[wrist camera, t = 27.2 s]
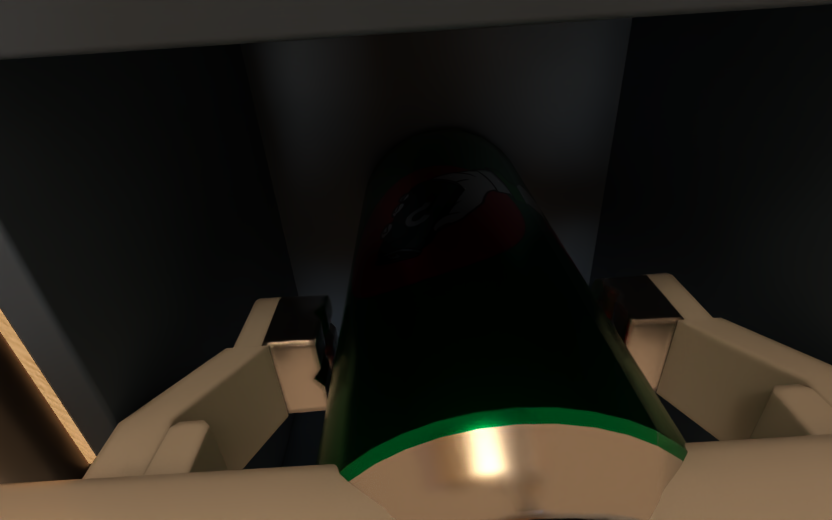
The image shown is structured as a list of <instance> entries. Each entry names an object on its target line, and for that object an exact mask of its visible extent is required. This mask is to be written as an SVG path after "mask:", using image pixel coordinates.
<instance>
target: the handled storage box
mask: <svg viewBox="0 0 832 520" xmlns="http://www.w3.org/2000/svg"><path fill="white" fill-rule="evenodd" d="M438 129H455V130H461V131H467V132H470V133H473V134H476V135H479V136H481V137H483V138H485V139H487V140H488V141H490V142H492V143H493V144H494V145H496V146H497V147H498V148H499V149H501V150H502V151H503V153H504V154H505V155H506V156H507V157H508V158H509V159H510V161H511V163H512V164H513V166H514V167H515V169H516V171H517V172H518V174H519V175H520V177H521V179H522V180H523V182H524V183H525V185H526V187H527V188H528V190H529V191H530V193H531V195H532V196H533V198H534V199H535V201H536V203H537V204H538V206H539V207H540V209H541V211H542V212H543V214H544V215H545V217H546V219H547V220H548V222H549V223H550V225H551V227H552V228H553V230H554V231H555V233H556V235H557V236H558V238H559V239H560V241H561V243H562V244H563V246H564V247H565V249H566V251H567V252H568V254H569V255H570V257H571V259H572V260H573V262H574V263H575V265H576V267H577V268H578V270H579V271H580V273H581V275H582V276H583V278H584V279H585V281H586V283H587V284H588V286H589V288H590V289H592V285H593V283H594V281H595V279H602V278H615V277H628V276H640V275H646V274H657V273H669V274H671V275H673V276H674V277H675V278H676V279H677V280H678V281H679V282H680V284H681V285H682V286H683V287H684V288H685V289H686V290H687V291H688V292H689V293H690V294H691V295H692V296H693V297H694V298H695V299H696V300H697V301H698V303H699V304H700V305H701V306H702V307H703V308H704V309H705V310H706V311H707V312H708V313H709V314H710V315H711V316H712V317H713V318H723V319H725V320H728V321H730V322H732V323H735V324H737V325H739V326H742V327H744V328H746V329H749V330H751V331H753V332H756V333H758V334H760V335H763V336H765V337H767V338H770V339H772V340H774V341H777V342H779V343H781V344H783V345H786V346H788V347H790V348H793V349H795V350H797V351H800V352H802V353H804V354H807V355H809V356H811V357H814V358H816V359H818V360H821V361H823V362H825V363H828V364H830V365H832V0H0V309H1V310H2V312H3V314H4V315H5V317H6V318H7V320H8V321H9V323H10V324H11V326H12V327H13V329H14V330H15V332H16V333H17V335H18V337H19V338H20V340H21V341H22V343H23V344H24V346H25V347H26V349H27V350H28V352H29V353H30V355H31V357H32V358H33V360H34V361H35V363H36V364H37V366H38V367H39V369H40V370H41V372H42V373H43V375H44V377H45V378H46V380H47V381H48V383H49V384H50V386H51V387H52V389H53V390H54V392H55V393H56V395H57V397H58V398H59V400H60V401H61V403H62V404H63V406H64V407H65V409H66V410H67V412H68V413H69V415H70V417H71V418H72V420H73V421H74V423H75V424H76V426H77V427H78V429H79V430H80V432H81V433H82V435H83V437H84V438H85V440H86V441H87V443H88V444H89V446H90V447H91V449H92V450H93V452H94V453H95V455H96V456H97V455H98V454H99V452H100V451H101V449H102V448H103V446H104V445H105V443H106V441H107V440H108V438H109V437H110V435H111V434H112V432H113V431H114V429H115V428H116V426H117V425H118V423H119V422H121V421H122V420H124V419H125V418H127V417H128V416H130V415H131V414H132V413H134V412H135V411H137V410H138V409H140V408H141V407H142V406H144V405H145V404H147V403H148V402H150V401H151V400H152V399H154V398H155V397H157V396H158V395H160V394H161V393H163V392H164V391H165V390H167V389H168V388H170V387H171V386H173V385H174V384H175V383H177V382H178V381H180V380H181V379H183V378H184V377H186V376H187V375H188V374H190V373H191V372H193V371H194V370H196V369H197V368H198V367H200V366H201V365H203V364H204V363H206V362H207V361H208V360H210V359H211V358H213V357H214V356H216V355H217V354H219V353H220V352H221V351H223V350H224V349H226V348H233V347H234V345H235V343H236V341H237V339H238V337H239V334H240V332H241V330H242V328H243V326H244V324H245V322H246V320H247V318H248V315H249V313H250V311H251V309H252V307H253V305H254V303H255V301H256V300H258V299H260V298H274V297H281V298H282V297H296V296H320V295H328V296H329V298H330V300H331V305H332V309H333V313H332V318H331V323H332V324H333V325H334V326H335V327H336V330H337V336H338V339H339V333H340V328H341V322H342V317H343V311H344V305H345V300H346V294H347V289H348V283H349V278H350V272H351V267H352V261H353V255H354V250H355V244H356V239H357V233H358V228H359V222H360V217H361V211H362V206H363V200H364V194H365V190H366V186H367V183H368V180H369V178H370V176H371V174H372V172H373V170H374V168H375V167H376V165H377V164H378V162H379V161H380V160H381V158H382V157H383V156H384V155H385V154H386V153H387V152H388V151H389V150H390V149H392V148H393V147H394V146H396V145H397V144H399V143H400V142H401V141H403V140H405V139H407V138H409V137H411V136H413V135H416V134H419V133H423V132H426V131H431V130H438ZM654 392H655V393H656V395H657V396H658V398H659V400H660V401H661V403H662V404H663V406H664V408H665V409H666V411H667V412H668V414H669V416H670V417H671V419H672V420H673V422H674V424H675V425H676V427H677V428H678V430H679V432H680V433H681V435H682V436H683V438H684V440H685V441H686V443H693V442H711V441H719V440H718V439H717V438H715V437H714V436H713V435H711V434H710V433H709V432H707V431H706V430H705V429H703V428H702V427H701V426H699V425H698V424H697V423H695V422H694V421H693V420H691V419H690V418H689V417H687V416H686V415H685V414H684V413H682V412H681V411H680V410H678V409H677V408H676V407H674V406H673V405H672V404H670V403H669V402H668V401H666V400H665V399H664V398H662V397H661V396H660V395H658V394H657V391H654ZM325 411H326V410H322V411H311V412H300V413H288V415H289V416H288V417H287V418H286V419H285V421H284V422H283V423H282V424H281V425H280V426H279V428H278V429H277V430H276V431H275V432H274V433H273V434H272V436H271V437H270V438H269V439H268V440H267V441H266V443H265V444H264V445H263V446H262V447H261V448H260V450H259V451H258V452H257V453H256V454H255V455H254V456H253V458H252V459H251V460H250V461H249V462H248V463H247V465H246V466H245V467H244V468H243V469H258V468H275V467H291V466H308V465H316V461H317V455H318V450H319V444H320V439H321V433H322V427H323V422H324V416H325ZM90 466H91V464H89V463H88V462H87V460H86V459H85V457H84V456H83V454H82V453H81V451H80V450H79V448H78V447H77V445H76V444H75V442H74V441H73V439H72V438H71V436H70V435H69V433H68V432H67V431H66V429H65V428H64V426H63V425H62V423H61V422H60V420H59V419H58V417H57V416H56V414H55V413H54V411H53V410H52V408H51V407H50V405H49V404H48V402H47V401H46V399H45V398H44V396H43V395H42V393H41V392H40V390H39V389H38V387H37V386H36V384H35V383H34V381H33V380H32V378H31V377H30V375H29V374H28V373H27V371H26V370H25V368H24V367H23V365H22V364H21V362H20V361H19V359H18V358H17V356H16V355H15V353H14V352H13V350H12V349H11V347H10V346H9V344H8V343H7V341H6V340H5V338H4V337H3V335H2V334H1V332H0V484H7V483H24V482H41V481H57V480H74V479H82V478H83V477H84V475H85V474H86V472H87V471H88V469H89V467H90Z"/></svg>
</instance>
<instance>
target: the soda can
mask: <svg viewBox="0 0 832 520" xmlns="http://www.w3.org/2000/svg"><path fill="white" fill-rule="evenodd" d="M685 443H686V441H685V440H684V438H683V436H682V435H681V433H680V432H679V430H678V428H677V427H676V425H675V424H674V422H673V420H672V419H671V417H670V416H669V414H668V412H667V411H666V409H665V408H664V406H663V404H662V403H661V401H660V400H659V398H658V396H657V395H656V393H655V392H654V390H653V388H652V387H651V385H650V384H649V382H648V380H647V379H646V377H645V376H644V374H643V372H642V371H641V369H640V368H639V366H638V364H637V363H636V361H635V360H634V358H633V356H632V355H631V353H630V352H629V350H628V348H627V347H626V345H625V344H624V342H623V340H622V339H621V337H620V336H619V334H618V332H617V331H616V329H615V328H614V326H613V324H612V323H611V321H610V320H609V318H608V316H607V315H606V313H605V312H604V310H603V308H602V307H601V305H600V304H599V302H598V300H597V299H596V297H595V296H594V294H593V292H592V291H591V289H590V288H589V286H588V284H587V283H586V281H585V279H584V278H583V276H582V275H581V273H580V271H579V270H578V268H577V267H576V265H575V263H574V262H573V260H572V259H571V257H570V255H569V254H568V252H567V251H566V249H565V247H564V246H563V244H562V243H561V241H560V239H559V238H558V236H557V235H556V233H555V231H554V230H553V228H552V227H551V225H550V223H549V222H548V220H547V219H546V217H545V215H544V214H543V212H542V211H541V209H540V207H539V206H538V204H537V203H536V201H535V199H534V198H533V196H532V195H531V193H530V191H529V190H528V188H527V187H526V185H525V183H524V182H523V180H522V179H521V177H520V175H519V174H518V172H517V171H516V169H515V167H514V166H513V164H512V163H511V161H510V159H509V158H508V157H507V156H506V155H505V154H504V153H503V151H502V150H501V149H499V148H498V147H497V146H496V145H494V144H493V143H492V142H490V141H488V140H487V139H485V138H483V137H481V136H479V135H476V134H473V133H470V132H467V131H461V130H455V129H438V130H431V131H426V132H423V133H419V134H416V135H413V136H411V137H409V138H407V139H405V140H403V141H401V142H400V143H399V144H397V145H396V146H394V147H393V148H392V149H390V150H389V151H388V152H387V153H386V154H385V155H384V156H383V157H382V158H381V160H380V161H379V162H378V164H377V165H376V167H375V168H374V170H373V172H372V174H371V176H370V178H369V180H368V183H367V186H366V190H365V194H364V200H363V206H362V211H361V217H360V222H359V228H358V233H357V239H356V244H355V250H354V255H353V261H352V267H351V272H350V278H349V283H348V289H347V294H346V300H345V305H344V311H343V317H342V322H341V328H340V333H339V339H338V344H337V350H336V355H335V361H334V366H333V372H332V378H331V383H330V389H329V394H328V400H327V405H326V411H325V416H324V422H323V427H322V433H321V439H320V444H319V450H318V455H317V461H316V465H325V464H334V465H336V466H337V468H338V471H339V474H340V475H341V476H342V477H344V478H345V479H346V480H347V481H348V482H349V483H350V484H352V485H353V486H354V487H356V488H357V489H359V490H360V491H361V492H363V493H364V494H366V495H367V496H368V497H370V498H371V499H373V500H374V501H375V502H377V503H378V504H380V505H381V506H382V507H384V508H385V509H386V510H387V511H388V513H389V514H390V515H391V516H392V517H393V518H394V519H395V520H650V518H651V516H652V514H653V512H654V510H655V509H656V507H657V505H658V503H659V501H660V498H661V495H662V492H663V491H664V489H665V488H666V486H667V485H668V483H669V482H670V481H671V479H672V478H673V477H674V475H675V474H676V472H677V471H678V470H679V468H680V467H681V465H682V463H683V461H684V459H685V457H686V455H687V453H688V451H687V449H686V447H685Z"/></svg>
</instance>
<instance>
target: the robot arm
mask: <svg viewBox="0 0 832 520" xmlns="http://www.w3.org/2000/svg"><path fill="white" fill-rule="evenodd" d="M591 291H592V292H593V294H594V296H595V297H596V299H597V300H598V302H599V304H600V305H601V307H602V308H603V310H604V312H605V313H606V315H607V316H608V318H609V320H610V321H611V323H612V324H613V326H614V328H615V329H616V331H617V332H618V334H619V336H620V337H621V339H622V340H623V342H624V344H625V345H626V347H627V348H628V350H629V352H630V353H631V355H632V356H633V358H634V360H635V361H636V363H637V364H638V366H639V368H640V369H641V371H642V372H643V374H644V376H645V377H646V379H647V380H648V382H649V384H650V385H651V387H652V388H653V390H654V391H657V394H658V395H660V396H661V397H662V398H664V399H665V400H666V401H668V402H669V403H670V404H672V405H673V406H674V407H676V408H677V409H678V410H680V411H681V412H682V413H684V414H685V415H686V416H687V417H689V418H690V419H691V420H693V421H694V422H695V423H697V424H698V425H699V426H701V427H702V428H703V429H705V430H706V431H707V432H709V433H710V434H711V435H713V436H714V437H715V438H717V439H718V440H719V441H711V442H693V443H685V447H686V449H687V451H688V453H687V455H686V457H685V459H684V461H683V463H682V465H681V467H680V468H679V470H678V471H677V472H676V474H675V475H674V477H673V478H672V479H671V481H670V482H669V483H668V485H667V486H666V488H665V489H664V491H663V492H662V495H661V498H660V501H659V503H658V505H657V507H656V509H655V510H654V512H653V514H652V516H651V518H650V520H832V365H830V364H828V363H825V362H823V361H821V360H818V359H816V358H814V357H811V356H809V355H807V354H804V353H802V352H800V351H797V350H795V349H793V348H790V347H788V346H786V345H783V344H781V343H779V342H777V341H774V340H772V339H770V338H767V337H765V336H763V335H760V334H758V333H756V332H753V331H751V330H749V329H746V328H744V327H742V326H739V325H737V324H735V323H732V322H730V321H728V320H725V319H723V318H713V317H712V316H711V315H710V314H709V313H708V312H707V311H706V310H705V309H704V308H703V307H702V306H701V305H700V304H699V303H698V301H697V300H696V299H695V298H694V297H693V296H692V295H691V294H690V293H689V292H688V291H687V290H686V289H685V288H684V287H683V286H682V285H681V284H680V282H679V281H678V280H677V279H676V278H675V277H674V276H673V275H671V274H669V273H657V274H646V275H640V276H628V277H615V278H602V279H595V281H594V283H593V285H592V289H591ZM332 313H333V309H332V305H331V300H330V298H329V296H328V295H320V296H296V297H282V298H281V297H274V298H260V299H258V300H256V301H255V303H254V305H253V307H252V309H251V311H250V313H249V315H248V318H247V320H246V322H245V324H244V326H243V328H242V330H241V332H240V334H239V337H238V339H237V341H236V343H235V345H234V347H233V348H226V349H224V350H223V351H221V352H220V353H219V354H217V355H216V356H214V357H213V358H211V359H210V360H208V361H207V362H206V363H204V364H203V365H201V366H200V367H198V368H197V369H196V370H194V371H193V372H191V373H190V374H188V375H187V376H186V377H184V378H183V379H181V380H180V381H178V382H177V383H175V384H174V385H173V386H171V387H170V388H168V389H167V390H165V391H164V392H163V393H161V394H160V395H158V396H157V397H155V398H154V399H152V400H151V401H150V402H148V403H147V404H145V405H144V406H142V407H141V408H140V409H138V410H137V411H135V412H134V413H132V414H131V415H130V416H128V417H127V418H125V419H124V420H122V421H121V422H119V423H118V425H117V426H116V428H115V429H114V431H113V432H112V434H111V435H110V437H109V438H108V440H107V441H106V443H105V445H104V446H103V448H102V449H101V451H100V452H99V454H98V455H97V457H96V458H95V460H94V461H93V463H92V464H91V466H90V467H89V469H88V471H87V472H86V474H85V475H84V477H83V478H82V479H74V480H57V481H41V482H24V483H7V484H0V520H395V519H394V518H393V517H392V516H391V515H390V514H389V513H388V511H387V510H386V509H385V508H384V507H382V506H381V505H380V504H378V503H377V502H375V501H374V500H373V499H371V498H370V497H368V496H367V495H366V494H364V493H363V492H361V491H360V490H359V489H357V488H356V487H354V486H353V485H352V484H350V483H349V482H348V481H347V480H346V479H345V478H344V477H342V476H341V475H340V474H339V471H338V468H337V466H336V465H334V464H325V465H308V466H291V467H275V468H258V469H243V468H244V467H245V466H246V465H247V463H248V462H249V461H250V460H251V459H252V458H253V456H254V455H255V454H256V453H257V452H258V451H259V450H260V448H261V447H262V446H263V445H264V444H265V443H266V441H267V440H268V439H269V438H270V437H271V436H272V434H273V433H274V432H275V431H276V430H277V429H278V428H279V426H280V425H281V424H282V423H283V422H284V421H285V419H286V418H287V417H288V416H289V415H288V413H300V412H311V411H322V410H326V405H327V400H328V394H329V389H330V383H331V378H332V372H333V366H334V361H335V355H336V350H337V344H338V336H337V330H336V327H335V326H334V325H333V324H332V323H331V318H332Z"/></svg>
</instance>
